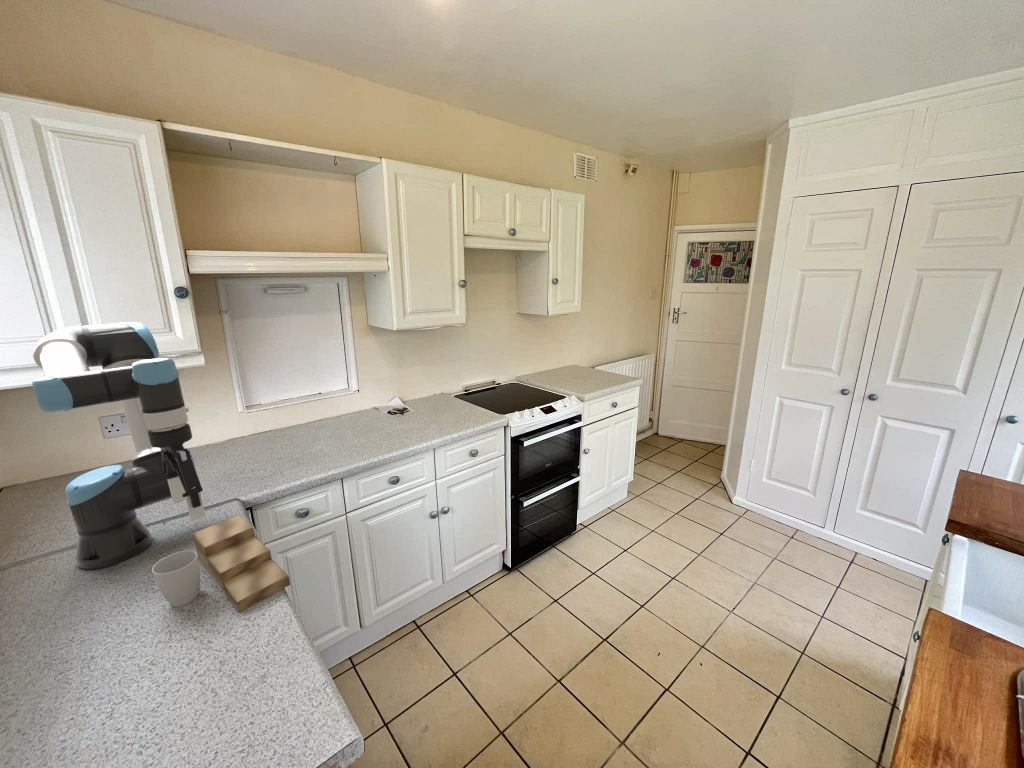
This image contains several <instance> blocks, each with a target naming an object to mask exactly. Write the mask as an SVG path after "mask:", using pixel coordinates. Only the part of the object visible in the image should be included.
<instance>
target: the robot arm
mask: <svg viewBox="0 0 1024 768" xmlns="http://www.w3.org/2000/svg"><path fill="white" fill-rule="evenodd" d="M32 356H33V360H34V362H35V364H36V365H37V367H39V368H40V369H42V372H43V375H44V376H43V377H39V378H35V379H33V380H32V382H31V386H32V388H33V391H34V396H35V398H36V401H37V404H38V408H39V409H40V410H41V411H42V412H43V413H47V414H48V413H55V412H61V411H63V412H68V411H72V410H75V409H76V410H77V409H81V408H88V407H93V406H99V405H104V404H110V403H115V402H120V403H121V407H122V410H123V414H124V416H125V419H126V422H127V425H128V429H129V432H130V436H131V438H132V442H133V444H134V448H135V452H136V454H135V456H134V457H133V458H132V460H131V462H132V463H131V464H132V467H128V468H125V467H123V465H121V464H112V465H105V466H101V467H98V468H96V469H93V470H90V471H87V472H86V473H83V474H81V475H79V476H77V477H76V478H73V480H71V481H70V482H69V483H68V484H67V485H66V486H65V496H66V497H65V498H66V504H67V506H68V507H69V509H70V513H71V515H72V518H73V522H74V525H75V529H76V532H77V535H78V538H77V539H78V540H77V543H76V544H77V545H76V552H75V561H76V564H77V567H78V568H80V569H84V570H95V569H103V568H106V567H110V566H113V565H116V564H120V563H122V562H124V561H127V560H129V559H130V558H133V557H135V556H137V555H139V554H140V553H141V552H143V551H144V550H145V549H146V548H148V547H149V546H150V544H151V543H152V540H153V538H152V535H151V534H152V533H151V531H150V530H149V528H147V526H146V525H145V524H144V523H143V522H142V521H141V520H140V519H139V518H138V515H137V512H136V510H138V509H141V508H145V507H148V506H151V505H154V504H157V503H160V502H163V501H167V500H169V499H172V503H173V504H174V505H175V504H179V503H181V502H184V501H186V502H185V503H186V506H187V510H188V514H189V517H190V522H194V521H197V520H199V519H203V518H205V517H207V515H206V511H205V508H204V502H203V498H202V492H203V491H204V490H203V487H202V484H201V482H200V479H199V476H198V473H197V471H196V465H195V460H194V457H193V454H192V453H191V451H190V450H189V449H187V447H186V448H185V447H184V444H185V443H187V442H189V441H190V440H191V439H193V434H192V429H191V424H189V423H188V421H189V418H188V414H187V413H188V412H190V408H188V407H186V405H185V400H184V397H183V392H182V388H181V383H180V378H179V375H180V373H179V370H177V366H176V363H175V361H174V360H173V359H172V358H168V357H166V358H165V357H160V352H159V348H158V344H157V343H156V340H155V339H154V336H153V334H152V332H151V330H150V329H149V328H148V327H147V325H145V324H143V323H141V322H135V321H134V322H127V321H126V322H125V321H123V322H118V323H117V322H116V323H115V322H114V323H105V324H103V323H101V324H91V325H75V326H68V327H65V328H61V329H60V328H59V329H58V330H54V331H53V332H51V333H49V334H47V335H45V336H44V337H42V338H41V339H40V340H38V341H37V343H36V344H35V345H34V346H33V350H32ZM100 366H101V367H102V369H100V370H92V371H91V370H90V367H91V368H92V367H93V368H94V367H100Z"/></svg>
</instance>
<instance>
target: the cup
mask: <svg viewBox="0 0 1024 768" xmlns="http://www.w3.org/2000/svg"><path fill="white" fill-rule="evenodd" d="M151 572H152V574H153V577H154V579H155V582H156V585H157V588H159V591H160V592H161V594H162V596H163V598H164V599H165V600H166V601H167V602H168V604H170V606H172V607H175V608H176V607H183V606H186V605H188V604H190V603H192V602H193V601H194V600H195V599H196V598H197V597H198V595H199V590H200V585H201V584H200V583H201V582H200V581H201V580H200V578H201V577H200V575H201V574H200V572H201V570H200V564H199V557H198V553H197V551H195V550H189V549H188V550H181V551H177V552H174V553H171V554H169V555H167V556H165V557H162V558H161V559H159V560H158V561H157V562H155V564H154V565H153V566H152V568H151Z"/></svg>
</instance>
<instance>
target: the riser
mask: <svg viewBox="0 0 1024 768" xmlns="http://www.w3.org/2000/svg"><path fill="white" fill-rule="evenodd" d="M255 535H256V534H255V531H254V527H253V526H252V525H251V523H249V522H248V521H247V520H245V518H244V517H242V516H241V514H240V515H239V514H238V515H236V516H234V517H231V518H228V519H226V520H224V521H221V522H219V523H216V524H213V525H211V526H208V527H206V528H203V529H201V530H198V531H195V532H192V536H193V539H194V543H195V548H196V553H197V556H198V560H200V562H201V563H202V565H203V566H204V567H205V568H206V570H207V571H208V573H209V574H210V575H211V577H212V578H213V579H214V581H215V582H216V584H217V585H218V587H220V589H221V590H222V592H223V593H224V594H225V595H226V597H227V598H228V599H229V601H230V602H231V604H232V605H233V606H234V608H235V609H236V610H237V611H238V613H241V612H243V611H245V610H246V609H248V608H251V607H253V606H254V605H255V604H257V603H259V602H261V601H263V600H265V599H267V598H269V597H270V596H273V595H274V594H276V593H278V592H279V591H281V590H283V589H285V588H287V587H289V586H291V581H290V576H289V575H288V573H286V572H285V571H284V570H283V569H282V568H281V566H279V564H277V562H275V560H273V559H272V554H271V550H270V549H269V548H268V547H267V546H266V545H265V544H264V543H263V542H262V541H261V540H260V539H259V538H258V537H257V536H255Z"/></svg>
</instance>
